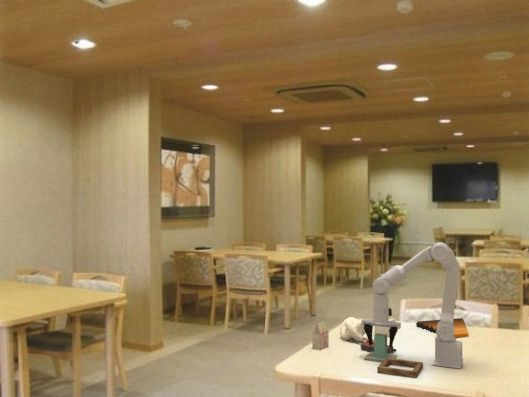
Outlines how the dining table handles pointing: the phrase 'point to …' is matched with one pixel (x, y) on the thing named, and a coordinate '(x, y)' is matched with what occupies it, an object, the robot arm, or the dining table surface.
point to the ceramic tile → (371, 357)
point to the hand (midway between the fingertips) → (380, 345)
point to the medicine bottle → (384, 329)
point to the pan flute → (458, 323)
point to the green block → (380, 345)
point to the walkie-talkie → (370, 348)
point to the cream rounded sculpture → (352, 329)
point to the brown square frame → (413, 373)
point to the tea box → (320, 337)
